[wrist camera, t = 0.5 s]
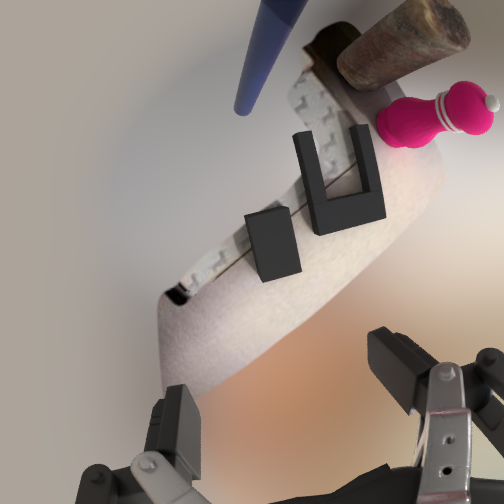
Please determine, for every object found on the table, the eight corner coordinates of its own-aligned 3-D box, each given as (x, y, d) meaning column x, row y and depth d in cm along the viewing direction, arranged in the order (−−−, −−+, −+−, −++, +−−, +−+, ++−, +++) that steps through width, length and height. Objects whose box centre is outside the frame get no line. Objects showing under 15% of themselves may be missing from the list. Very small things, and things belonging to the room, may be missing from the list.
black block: (243, 215, 34) (246, 217, 31) (282, 205, 34) (288, 207, 31) (258, 275, 36) (262, 283, 33) (295, 265, 36) (302, 272, 33)
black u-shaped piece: (291, 135, 33) (296, 132, 31) (360, 126, 33) (367, 124, 31) (313, 233, 36) (319, 236, 34) (379, 216, 36) (386, 218, 34)
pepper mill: (417, 137, 35) (519, 122, 15) (391, 159, 35) (502, 150, 15) (393, 98, 33) (490, 61, 13) (364, 117, 33) (469, 78, 14)
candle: (387, 85, 32) (481, 42, 13) (356, 103, 32) (456, 54, 13) (357, 46, 30) (436, -17, 11) (324, 60, 31) (402, -15, 11)
